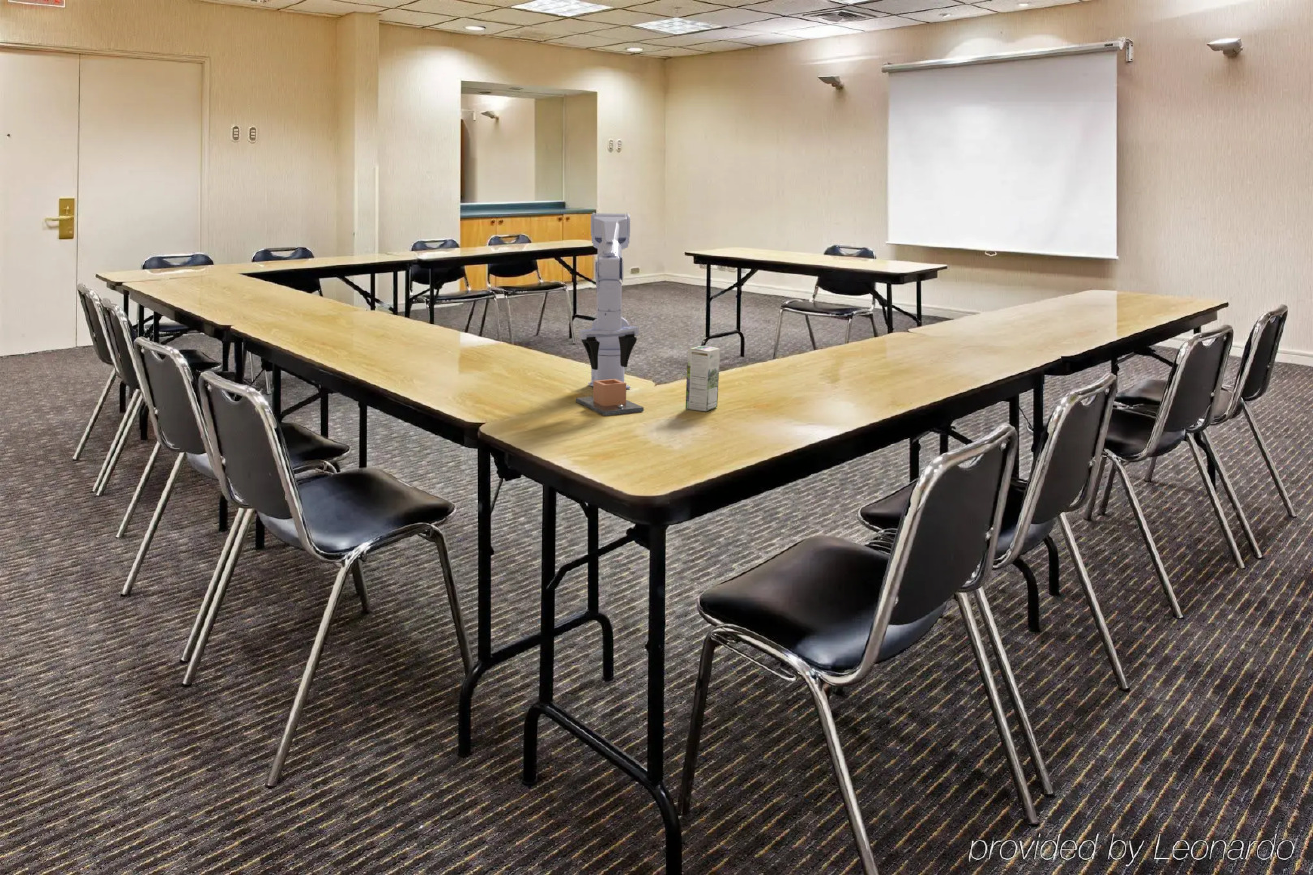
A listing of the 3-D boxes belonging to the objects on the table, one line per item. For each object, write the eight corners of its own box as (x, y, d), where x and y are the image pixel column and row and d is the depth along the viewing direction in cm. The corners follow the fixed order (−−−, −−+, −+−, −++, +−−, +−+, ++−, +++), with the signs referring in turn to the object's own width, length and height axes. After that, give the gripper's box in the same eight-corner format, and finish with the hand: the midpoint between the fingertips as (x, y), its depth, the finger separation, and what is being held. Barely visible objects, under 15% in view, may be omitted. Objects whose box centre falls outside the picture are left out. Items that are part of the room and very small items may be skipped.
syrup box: (696, 404, 236) (698, 344, 232) (718, 407, 233) (720, 347, 229) (685, 409, 231) (686, 348, 227) (707, 412, 228) (708, 350, 224)
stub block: (576, 402, 237) (576, 389, 236) (613, 398, 241) (613, 386, 241) (604, 415, 223) (604, 402, 222) (643, 411, 228) (643, 398, 227)
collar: (593, 401, 233) (593, 380, 232) (615, 399, 236) (615, 378, 234) (603, 406, 228) (603, 385, 227) (626, 404, 231) (626, 383, 229)
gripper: (587, 313, 220) (588, 373, 223) (645, 310, 226) (644, 368, 230) (575, 309, 226) (575, 368, 229) (631, 306, 232) (630, 363, 236)
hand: (609, 367), depth 230 cm, fingers open, 7 cm apart
